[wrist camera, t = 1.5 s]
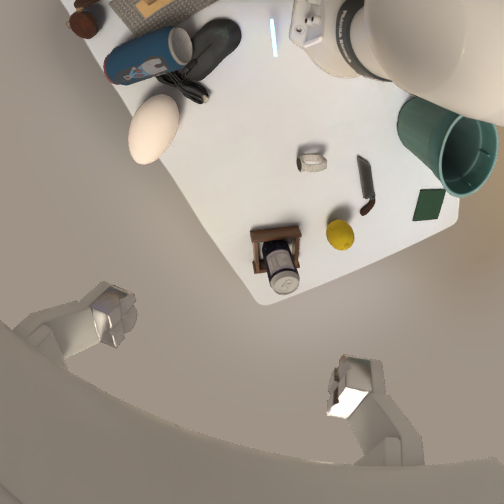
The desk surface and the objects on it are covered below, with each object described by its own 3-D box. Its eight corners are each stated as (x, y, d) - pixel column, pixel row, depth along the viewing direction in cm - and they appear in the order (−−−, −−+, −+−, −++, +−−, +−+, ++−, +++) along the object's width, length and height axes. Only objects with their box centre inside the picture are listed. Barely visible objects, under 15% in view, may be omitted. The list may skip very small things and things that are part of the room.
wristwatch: (294, 151, 49) (302, 161, 45) (320, 149, 49) (330, 159, 45) (294, 166, 51) (302, 177, 47) (320, 164, 51) (329, 175, 47)
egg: (144, 90, 32) (117, 165, 38) (192, 105, 36) (162, 177, 41) (145, 86, 38) (121, 151, 43) (186, 99, 42) (160, 161, 47)
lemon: (324, 237, 62) (336, 261, 56) (319, 218, 59) (331, 241, 53) (347, 228, 61) (361, 251, 55) (342, 209, 58) (358, 231, 52)
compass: (98, 40, 30) (127, 16, 31) (84, 4, 22) (118, -19, 23) (68, 40, 30) (96, 17, 31) (54, 9, 22) (85, -14, 24)
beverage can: (256, 251, 62) (265, 292, 53) (270, 231, 59) (282, 271, 50) (278, 259, 65) (289, 299, 55) (292, 240, 62) (307, 279, 52)
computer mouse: (259, 41, 36) (263, 39, 33) (202, 107, 42) (200, 111, 39) (208, 7, 31) (208, 2, 28) (152, 76, 37) (146, 77, 34)
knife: (375, 209, 59) (377, 211, 58) (359, 215, 59) (361, 216, 59) (368, 152, 50) (369, 154, 49) (350, 158, 50) (351, 159, 50)
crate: (249, 231, 59) (251, 239, 57) (297, 225, 59) (301, 234, 57) (252, 264, 65) (254, 273, 62) (296, 259, 65) (299, 267, 63)
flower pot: (446, 86, 41) (503, 109, 28) (445, 155, 51) (492, 190, 39) (385, 87, 42) (441, 109, 29) (388, 164, 52) (434, 205, 40)
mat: (420, 189, 57) (421, 190, 56) (444, 189, 57) (446, 190, 57) (412, 220, 62) (413, 221, 62) (436, 217, 63) (437, 219, 62)
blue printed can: (187, 20, 29) (122, 44, 33) (163, 26, 25) (94, 56, 28) (198, 61, 34) (134, 79, 38) (177, 73, 30) (109, 95, 33)
